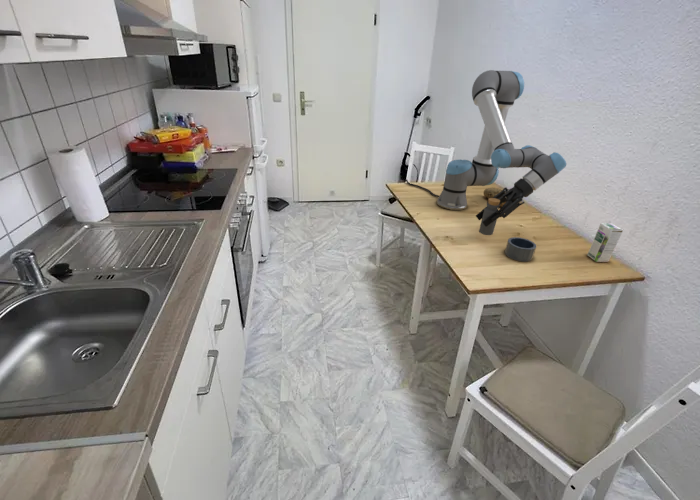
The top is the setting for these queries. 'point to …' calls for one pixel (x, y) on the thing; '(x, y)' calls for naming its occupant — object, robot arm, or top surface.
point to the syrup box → (604, 242)
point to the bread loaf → (492, 193)
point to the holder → (520, 249)
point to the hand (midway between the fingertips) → (480, 221)
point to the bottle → (488, 211)
